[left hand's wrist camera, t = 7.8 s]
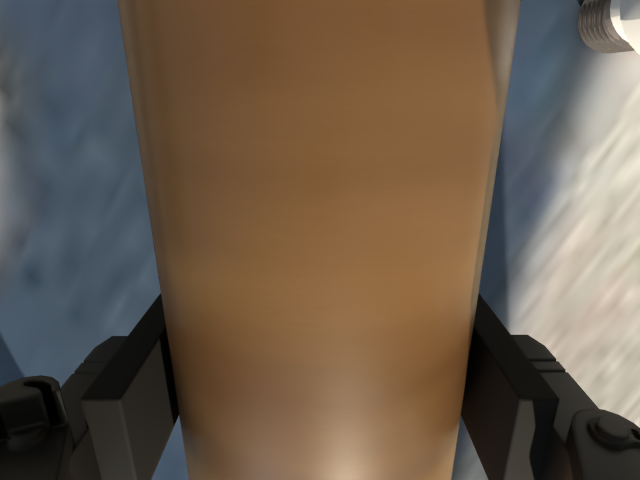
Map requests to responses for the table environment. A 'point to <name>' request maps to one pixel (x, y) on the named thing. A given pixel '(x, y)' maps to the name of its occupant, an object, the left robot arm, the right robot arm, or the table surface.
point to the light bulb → (610, 25)
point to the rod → (319, 222)
